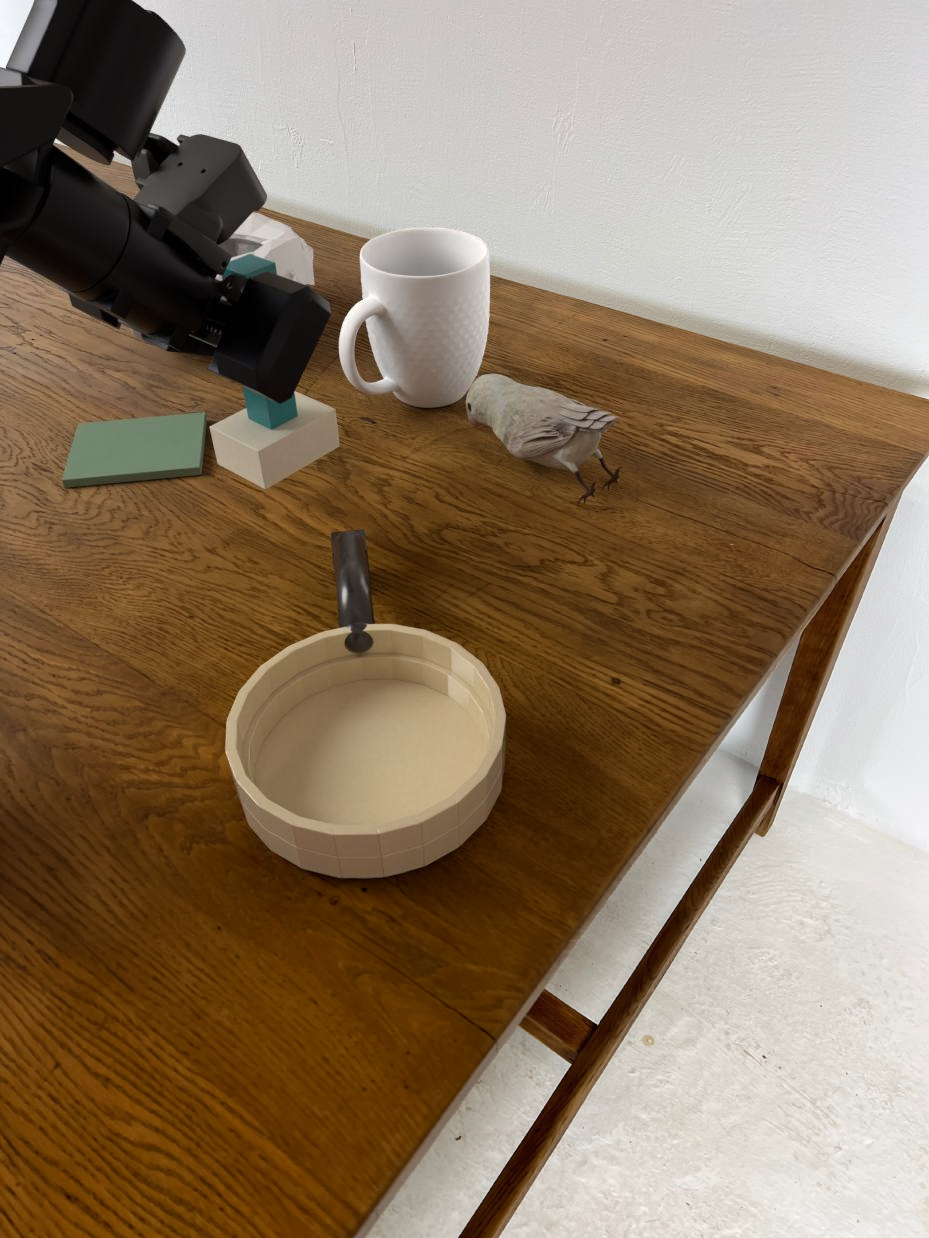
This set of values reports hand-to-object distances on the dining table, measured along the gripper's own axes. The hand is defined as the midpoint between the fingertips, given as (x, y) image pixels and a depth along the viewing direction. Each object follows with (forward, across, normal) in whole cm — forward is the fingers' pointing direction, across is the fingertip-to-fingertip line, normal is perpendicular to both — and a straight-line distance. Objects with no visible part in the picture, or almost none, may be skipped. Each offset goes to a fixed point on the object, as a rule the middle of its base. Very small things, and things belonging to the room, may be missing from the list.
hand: (280, 360), depth 62 cm
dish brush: (+4, 0, +6) cm, 7 cm away
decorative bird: (+23, -8, -3) cm, 25 cm away
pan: (0, -20, +20) cm, 28 cm away
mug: (+25, +7, -5) cm, 26 cm away
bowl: (+23, +32, -3) cm, 40 cm away
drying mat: (+9, +19, +11) cm, 24 cm away
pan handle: (+6, -11, +14) cm, 19 cm away
